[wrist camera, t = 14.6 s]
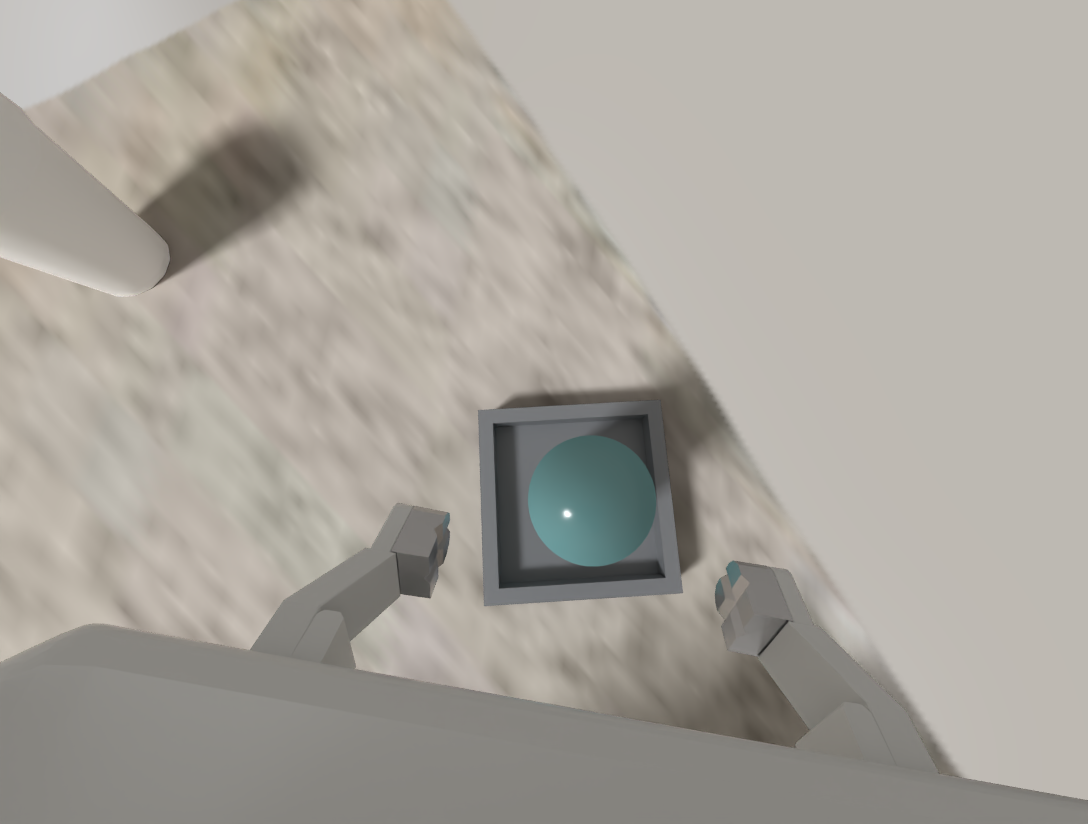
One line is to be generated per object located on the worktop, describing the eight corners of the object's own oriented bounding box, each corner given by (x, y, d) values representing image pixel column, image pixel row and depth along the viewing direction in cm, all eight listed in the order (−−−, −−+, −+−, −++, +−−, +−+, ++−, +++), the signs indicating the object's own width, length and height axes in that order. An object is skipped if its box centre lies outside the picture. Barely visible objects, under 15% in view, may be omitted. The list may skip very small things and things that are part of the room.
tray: (669, 583, 31) (682, 593, 28) (489, 595, 30) (484, 606, 27) (649, 408, 33) (660, 399, 30) (483, 417, 33) (478, 410, 30)
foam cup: (209, 235, 36) (26, 90, 23) (150, 330, 34) (-82, 231, 21) (113, 198, 36) (-117, 38, 24) (51, 289, 35) (-233, 170, 22)
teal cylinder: (618, 537, 30) (662, 562, 19) (534, 542, 30) (531, 570, 19) (611, 453, 31) (649, 432, 20) (530, 457, 31) (525, 438, 20)
